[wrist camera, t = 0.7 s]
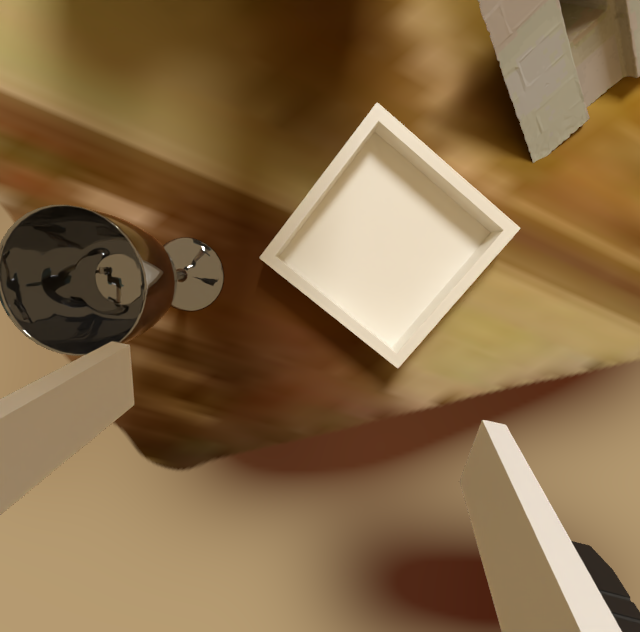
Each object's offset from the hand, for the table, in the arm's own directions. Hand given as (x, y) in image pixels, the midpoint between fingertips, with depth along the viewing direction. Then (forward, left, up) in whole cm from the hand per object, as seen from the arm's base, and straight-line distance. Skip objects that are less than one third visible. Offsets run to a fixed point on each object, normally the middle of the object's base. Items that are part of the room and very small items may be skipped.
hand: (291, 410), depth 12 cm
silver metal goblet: (+4, -12, -21) cm, 25 cm away
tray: (-10, +1, -21) cm, 23 cm away
